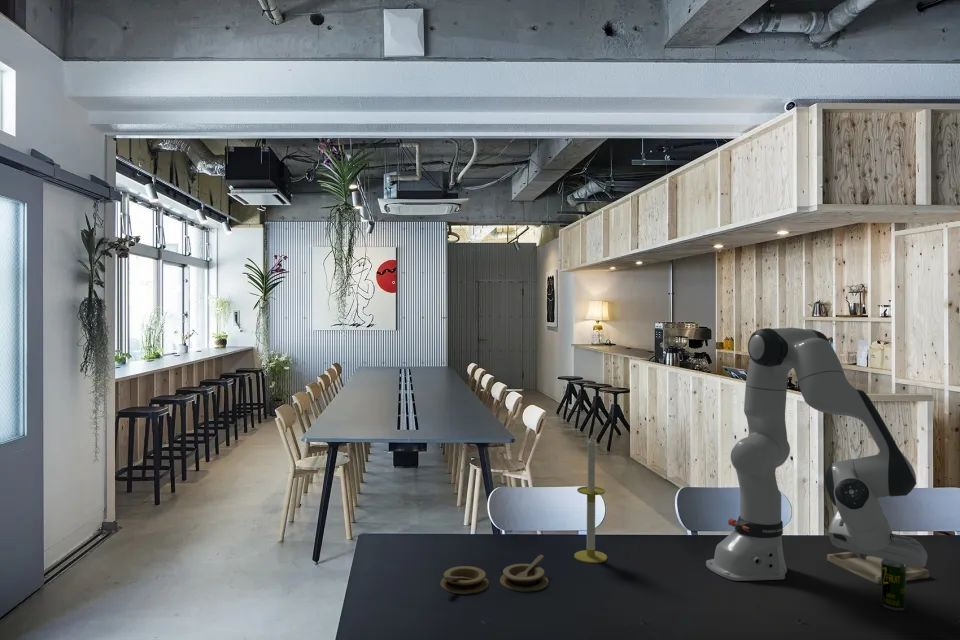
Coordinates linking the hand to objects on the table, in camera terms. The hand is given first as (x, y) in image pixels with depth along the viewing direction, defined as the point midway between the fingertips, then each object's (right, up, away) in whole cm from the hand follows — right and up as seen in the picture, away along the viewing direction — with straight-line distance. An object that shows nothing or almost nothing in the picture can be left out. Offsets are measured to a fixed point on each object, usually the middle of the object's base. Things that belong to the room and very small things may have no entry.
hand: (884, 561), depth 165 cm
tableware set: (-96, -13, +19) cm, 98 cm away
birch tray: (+16, -13, +30) cm, 36 cm away
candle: (-66, -13, +38) cm, 77 cm away
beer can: (+5, -13, +5) cm, 15 cm away
